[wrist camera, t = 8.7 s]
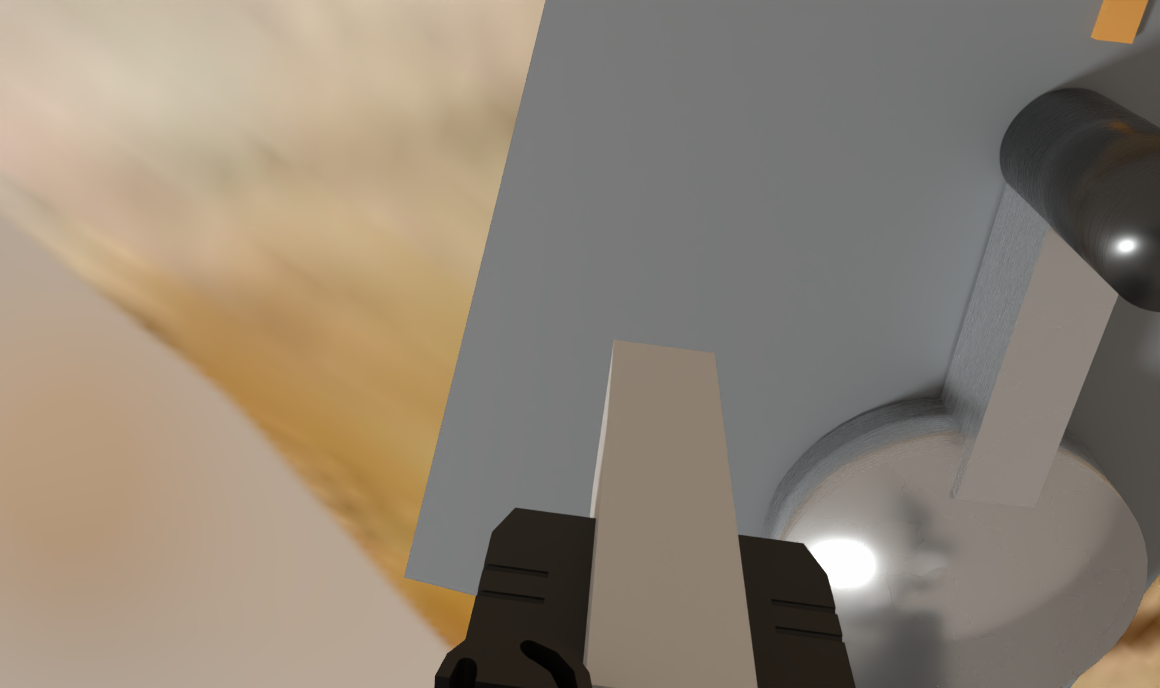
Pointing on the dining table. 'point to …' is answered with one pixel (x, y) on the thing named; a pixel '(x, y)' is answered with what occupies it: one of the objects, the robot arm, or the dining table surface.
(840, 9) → the stand
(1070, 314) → the cam lever
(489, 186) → the dining table surface
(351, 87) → the dining table surface
